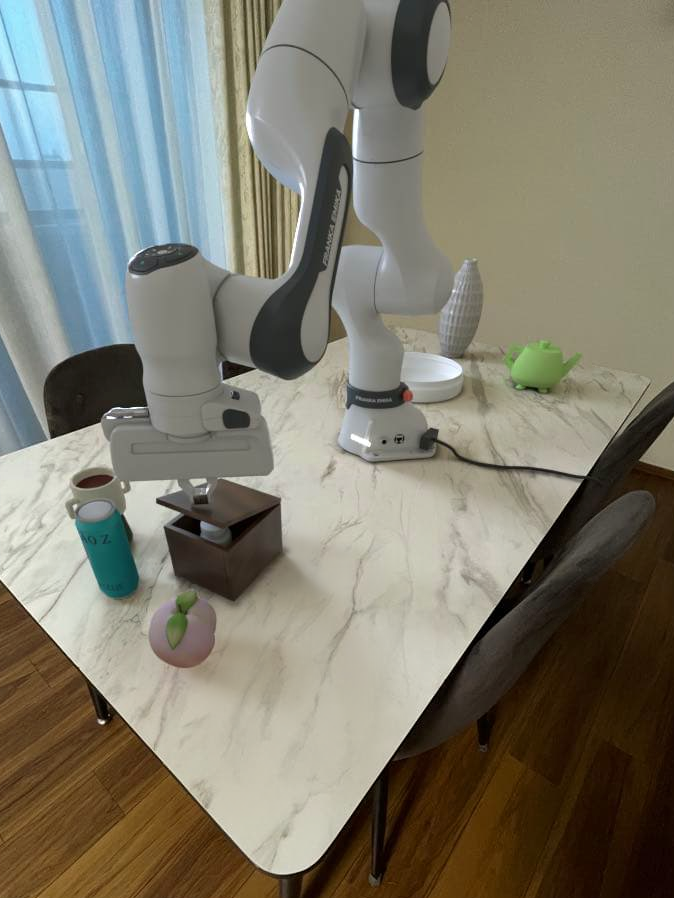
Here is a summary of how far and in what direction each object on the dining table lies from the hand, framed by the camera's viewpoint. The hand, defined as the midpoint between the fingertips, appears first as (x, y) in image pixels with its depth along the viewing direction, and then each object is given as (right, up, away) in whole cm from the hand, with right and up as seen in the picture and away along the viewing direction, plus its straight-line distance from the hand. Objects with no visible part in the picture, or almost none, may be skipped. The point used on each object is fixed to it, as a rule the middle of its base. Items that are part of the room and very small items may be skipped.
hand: (202, 502), depth 65 cm
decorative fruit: (-1, -21, -2) cm, 21 cm away
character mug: (-18, -6, +16) cm, 25 cm away
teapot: (+81, +40, +74) cm, 117 cm away
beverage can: (-14, -13, +7) cm, 20 cm away
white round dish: (+46, +41, +74) cm, 96 cm away
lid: (+2, 0, +4) cm, 5 cm away
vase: (+64, +58, +95) cm, 128 cm away
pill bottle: (+1, -9, +10) cm, 14 cm away
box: (+2, -9, +12) cm, 15 cm away
